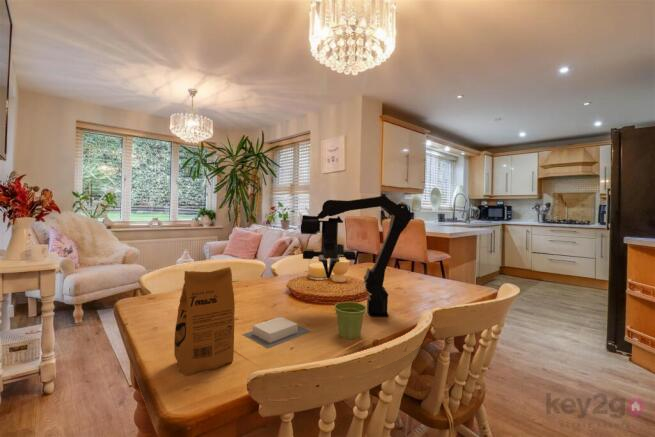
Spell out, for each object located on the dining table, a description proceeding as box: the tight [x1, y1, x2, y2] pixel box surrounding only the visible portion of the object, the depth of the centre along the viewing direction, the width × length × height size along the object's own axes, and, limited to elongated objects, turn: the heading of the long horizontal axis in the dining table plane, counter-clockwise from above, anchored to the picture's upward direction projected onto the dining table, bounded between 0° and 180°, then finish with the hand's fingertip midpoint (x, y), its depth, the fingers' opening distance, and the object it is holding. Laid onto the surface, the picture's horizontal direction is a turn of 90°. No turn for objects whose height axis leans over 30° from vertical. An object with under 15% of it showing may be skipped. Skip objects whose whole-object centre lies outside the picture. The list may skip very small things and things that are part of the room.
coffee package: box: [173, 266, 236, 377], centre depth 70 cm, size 10×12×22 cm
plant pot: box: [333, 301, 367, 340], centre depth 88 cm, size 9×9×9 cm
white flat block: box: [252, 316, 299, 343], centre depth 87 cm, size 3×8×10 cm
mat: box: [242, 325, 312, 349], centre depth 88 cm, size 16×12×1 cm
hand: (328, 278), depth 108 cm, fingers closed
